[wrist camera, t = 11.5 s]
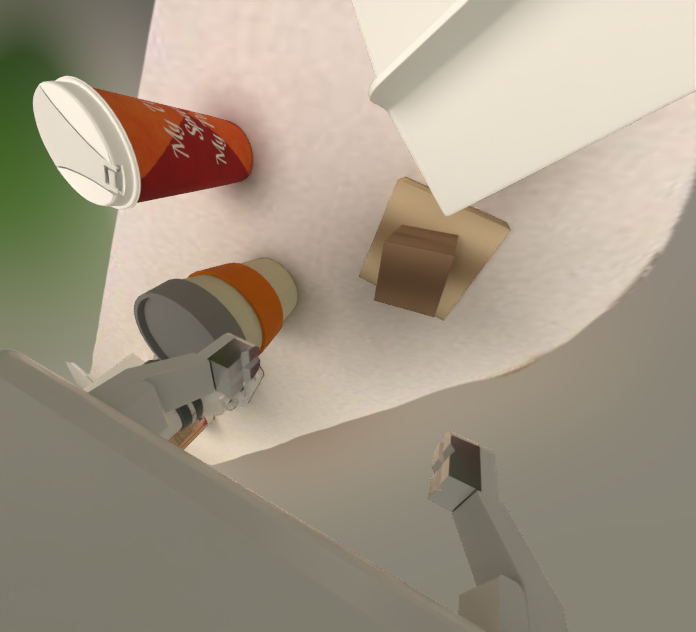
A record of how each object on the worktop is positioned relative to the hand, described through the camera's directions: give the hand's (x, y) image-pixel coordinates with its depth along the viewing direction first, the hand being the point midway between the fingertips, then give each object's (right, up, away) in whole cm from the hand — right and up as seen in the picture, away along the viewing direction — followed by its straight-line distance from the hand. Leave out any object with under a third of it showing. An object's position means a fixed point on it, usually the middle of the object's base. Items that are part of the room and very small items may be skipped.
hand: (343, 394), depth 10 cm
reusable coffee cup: (-11, +7, +28) cm, 31 cm away
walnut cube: (+7, +9, +14) cm, 18 cm away
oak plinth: (+8, +10, +16) cm, 21 cm away
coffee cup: (-13, +22, +20) cm, 32 cm away
